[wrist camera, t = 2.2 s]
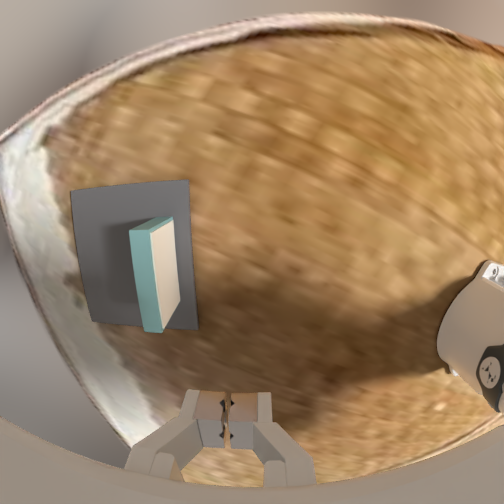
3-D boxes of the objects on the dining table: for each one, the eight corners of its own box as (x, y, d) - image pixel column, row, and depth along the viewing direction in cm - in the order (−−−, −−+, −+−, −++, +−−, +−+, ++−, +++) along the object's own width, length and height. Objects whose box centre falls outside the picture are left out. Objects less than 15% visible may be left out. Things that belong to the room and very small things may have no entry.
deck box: (174, 216, 27) (150, 229, 20) (181, 301, 29) (163, 333, 23) (156, 217, 27) (128, 230, 20) (165, 300, 29) (144, 331, 23)
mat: (188, 179, 26) (187, 179, 26) (199, 327, 31) (198, 330, 30) (73, 190, 27) (70, 190, 26) (94, 319, 31) (92, 321, 30)
